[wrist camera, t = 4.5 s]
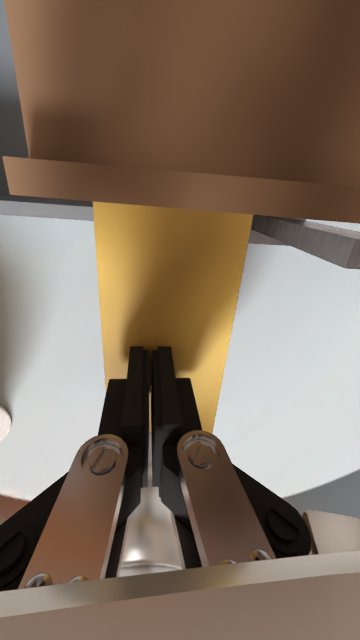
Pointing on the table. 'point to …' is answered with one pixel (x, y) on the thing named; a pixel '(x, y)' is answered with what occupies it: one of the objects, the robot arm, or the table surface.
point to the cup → (24, 145)
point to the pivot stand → (308, 238)
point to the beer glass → (4, 423)
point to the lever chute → (185, 150)
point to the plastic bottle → (150, 534)
